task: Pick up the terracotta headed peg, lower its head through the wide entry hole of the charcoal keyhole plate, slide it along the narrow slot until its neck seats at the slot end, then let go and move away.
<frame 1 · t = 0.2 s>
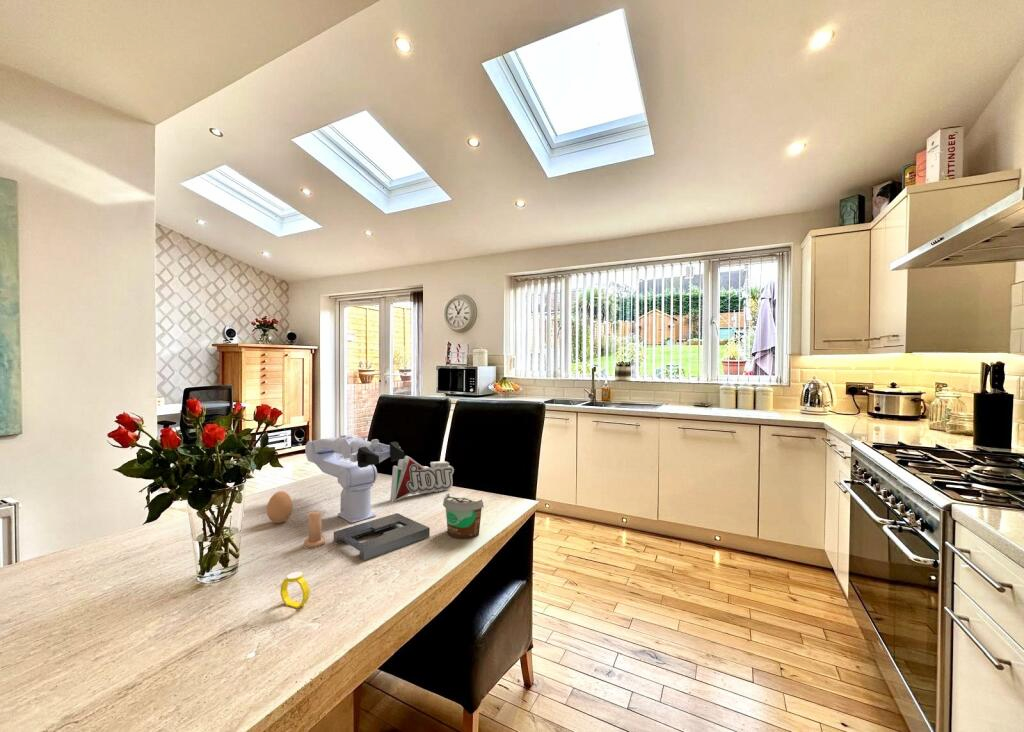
hand: (390, 457, 112), 21 cm above the table, tool horizontal, fingers open, 7 cm apart
peg: (314, 543, 106), on the table
keyhole plate: (383, 538, 110), on the table
decorative sign: (423, 495, 148), on the table
egg: (279, 523, 120), on the table
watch: (294, 606, 79), on the table
food container: (458, 536, 113), on the table
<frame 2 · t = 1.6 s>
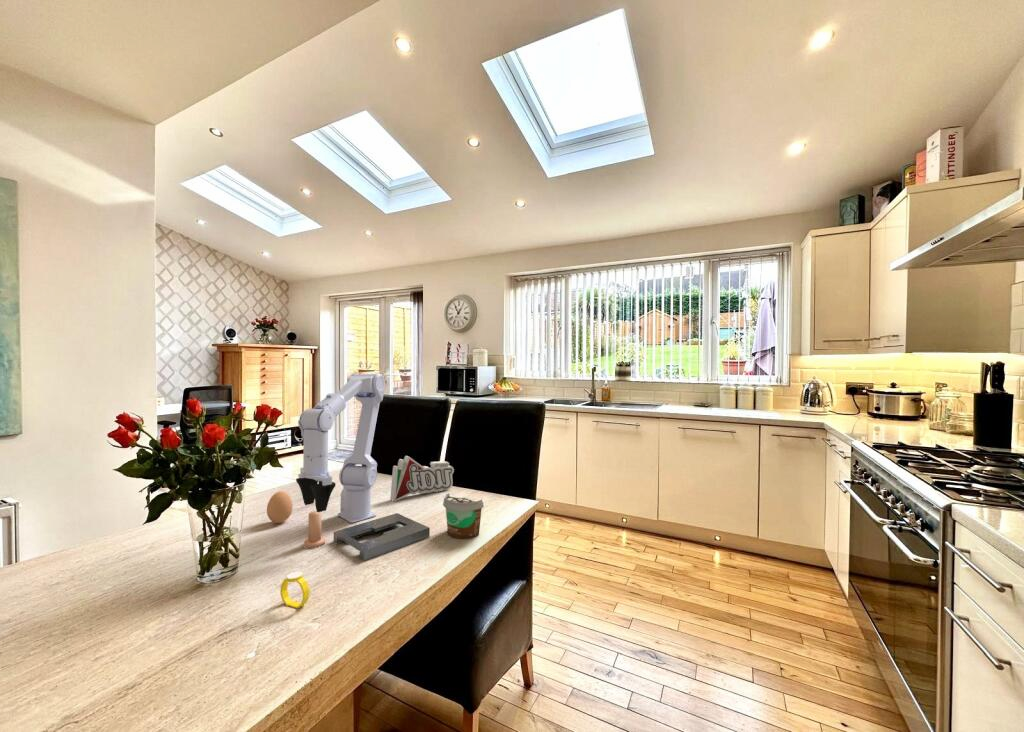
hand: (315, 507, 106), 9 cm above the table, tool pointing down, fingers open, 7 cm apart
nothing on the table moved.
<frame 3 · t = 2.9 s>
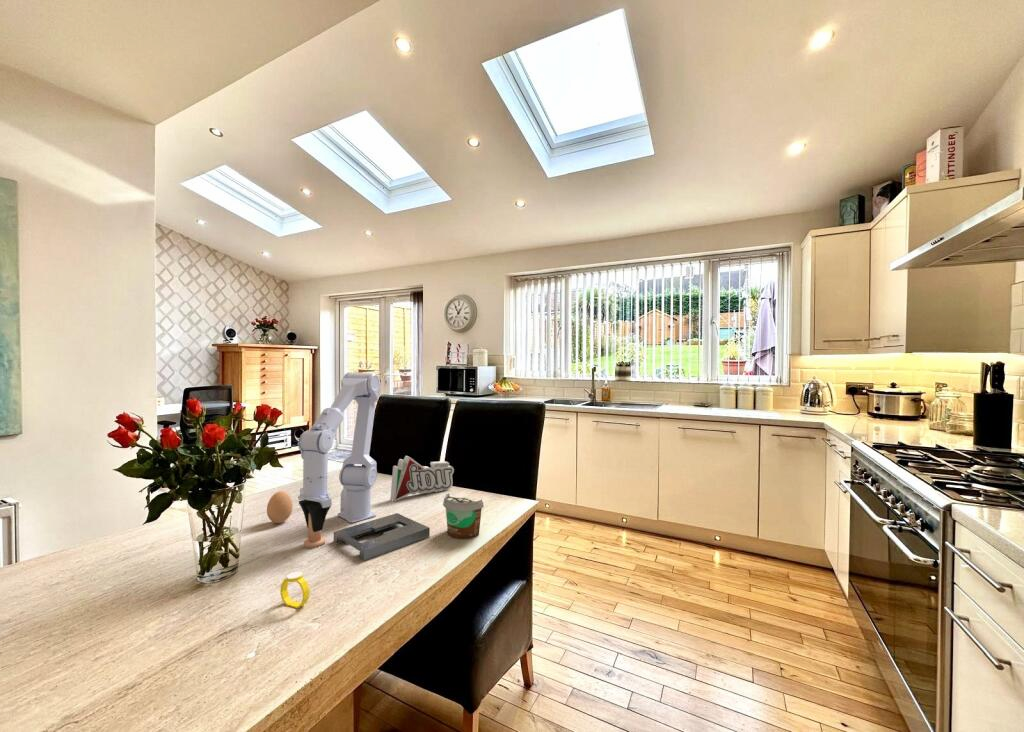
hand: (314, 528, 106), 4 cm above the table, tool pointing down, fingers closed on peg, 3 cm apart
peg: (314, 543, 106), on the table, touching gripper
everything else where it was.
when the fingers open (4 cm above the table, at t = 8.2 s): peg stays where it is, resting in keyhole plate.
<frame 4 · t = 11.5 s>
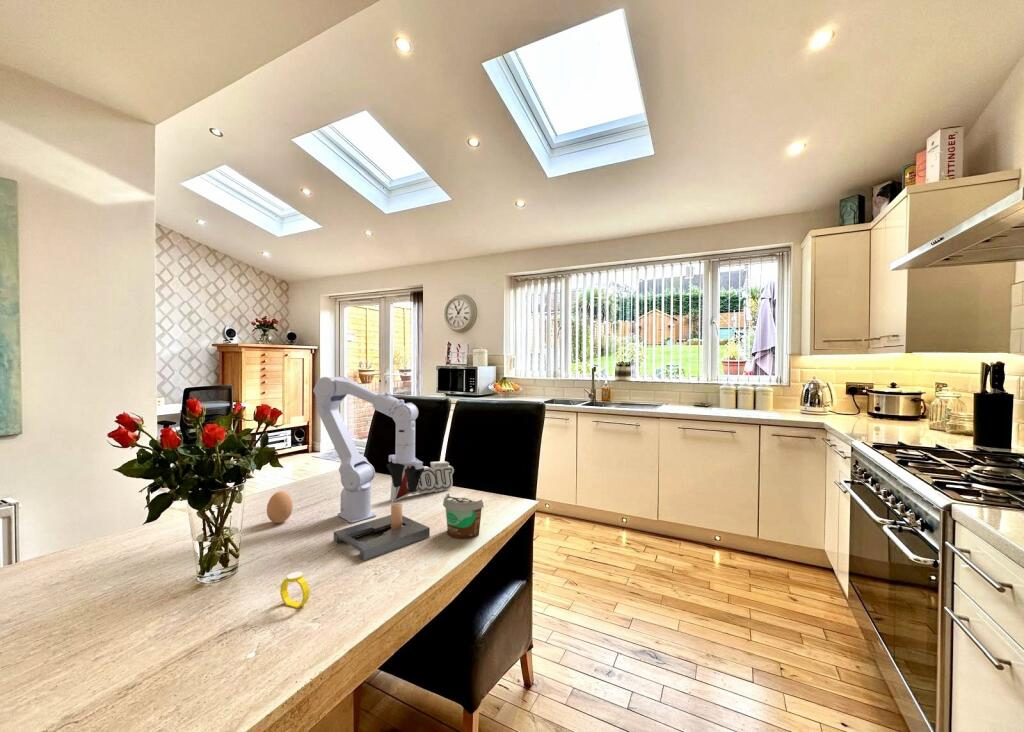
hand: (404, 489, 123), 9 cm above the table, tool pointing down, fingers open, 7 cm apart
peg: (396, 534, 113), resting in keyhole plate
everything else where it was.
at the end: peg 0.1 cm from the target spot on the keyhole plate, point 0.0 cm above the keyhole plate's base; peg tilted 0°; the gripper is holding nothing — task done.
